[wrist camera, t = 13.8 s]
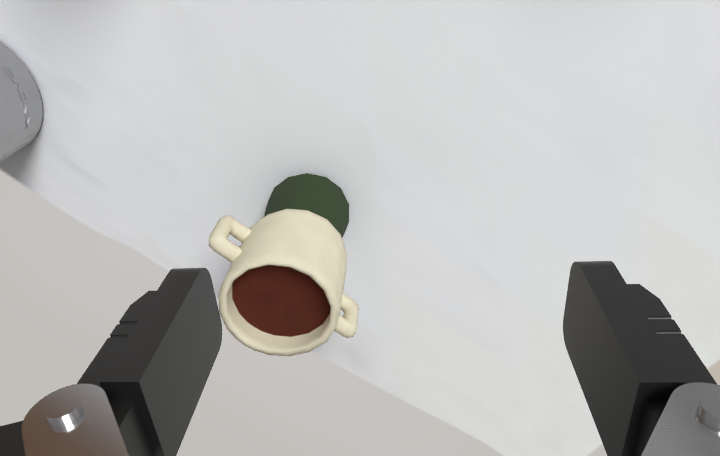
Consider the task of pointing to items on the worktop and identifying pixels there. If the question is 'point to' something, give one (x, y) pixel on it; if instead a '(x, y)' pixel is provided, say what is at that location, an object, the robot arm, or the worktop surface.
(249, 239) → the character mug
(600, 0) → the worktop surface
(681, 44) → the worktop surface
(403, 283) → the worktop surface
